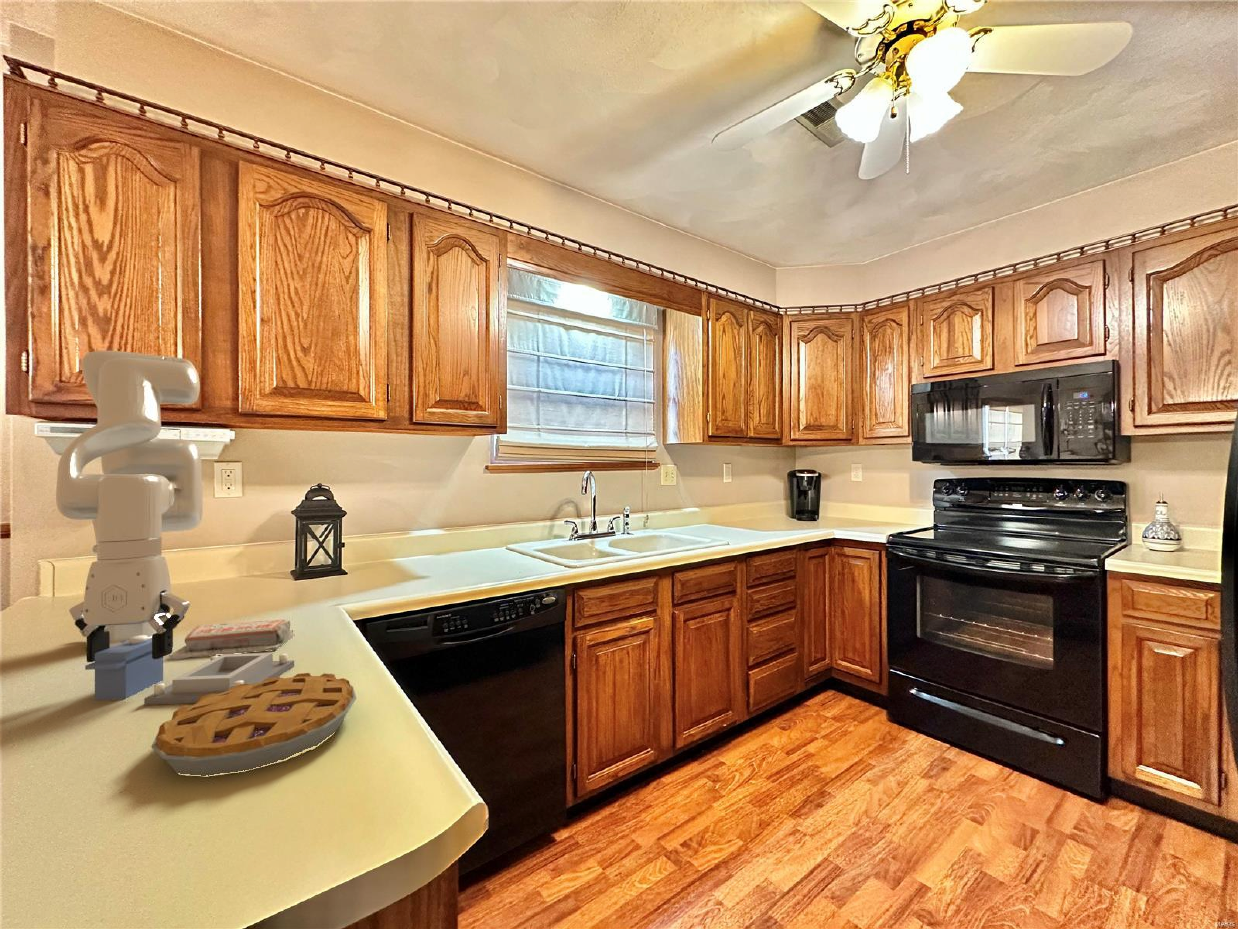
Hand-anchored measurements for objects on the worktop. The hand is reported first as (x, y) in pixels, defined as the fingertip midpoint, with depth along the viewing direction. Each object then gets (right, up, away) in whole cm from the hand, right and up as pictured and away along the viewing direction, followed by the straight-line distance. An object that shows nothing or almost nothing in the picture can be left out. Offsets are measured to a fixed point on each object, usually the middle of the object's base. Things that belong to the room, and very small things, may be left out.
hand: (130, 657), depth 82 cm
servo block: (0, -5, 0) cm, 5 cm away
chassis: (+14, -5, +2) cm, 15 cm away
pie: (+31, -5, -14) cm, 35 cm away
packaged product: (+2, -6, +20) cm, 21 cm away
